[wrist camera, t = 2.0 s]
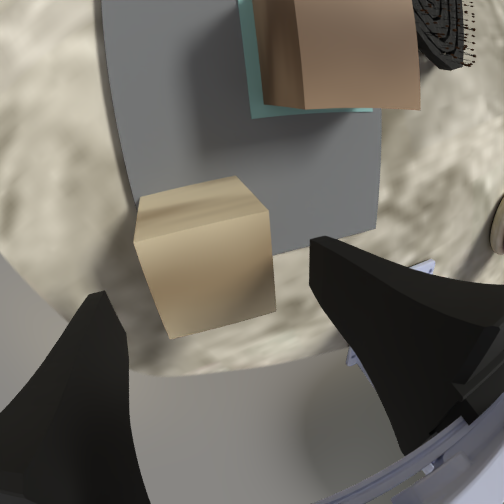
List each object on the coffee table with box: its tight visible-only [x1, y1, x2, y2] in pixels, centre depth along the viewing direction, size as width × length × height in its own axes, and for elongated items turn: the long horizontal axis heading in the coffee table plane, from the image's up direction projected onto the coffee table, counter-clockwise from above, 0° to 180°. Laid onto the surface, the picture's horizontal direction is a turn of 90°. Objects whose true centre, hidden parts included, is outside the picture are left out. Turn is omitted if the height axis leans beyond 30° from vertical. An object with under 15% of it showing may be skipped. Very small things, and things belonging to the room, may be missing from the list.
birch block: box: [133, 176, 276, 339], centre depth 12 cm, size 4×4×4 cm
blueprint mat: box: [101, 0, 381, 255], centre depth 12 cm, size 15×13×1 cm
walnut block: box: [252, 0, 420, 110], centre depth 9 cm, size 5×5×4 cm
